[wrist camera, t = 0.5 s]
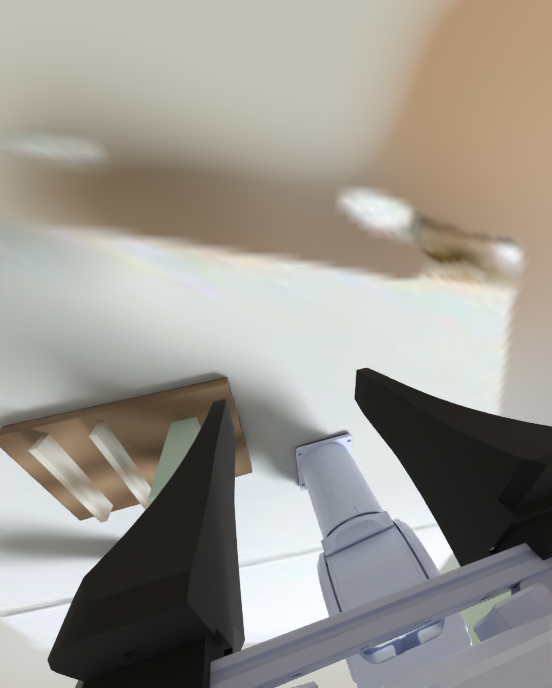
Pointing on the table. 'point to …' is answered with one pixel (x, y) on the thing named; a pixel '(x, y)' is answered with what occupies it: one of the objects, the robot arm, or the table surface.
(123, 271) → the table surface
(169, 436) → the door panel
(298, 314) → the table surface
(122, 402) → the track base
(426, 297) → the table surface
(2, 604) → the table surface
